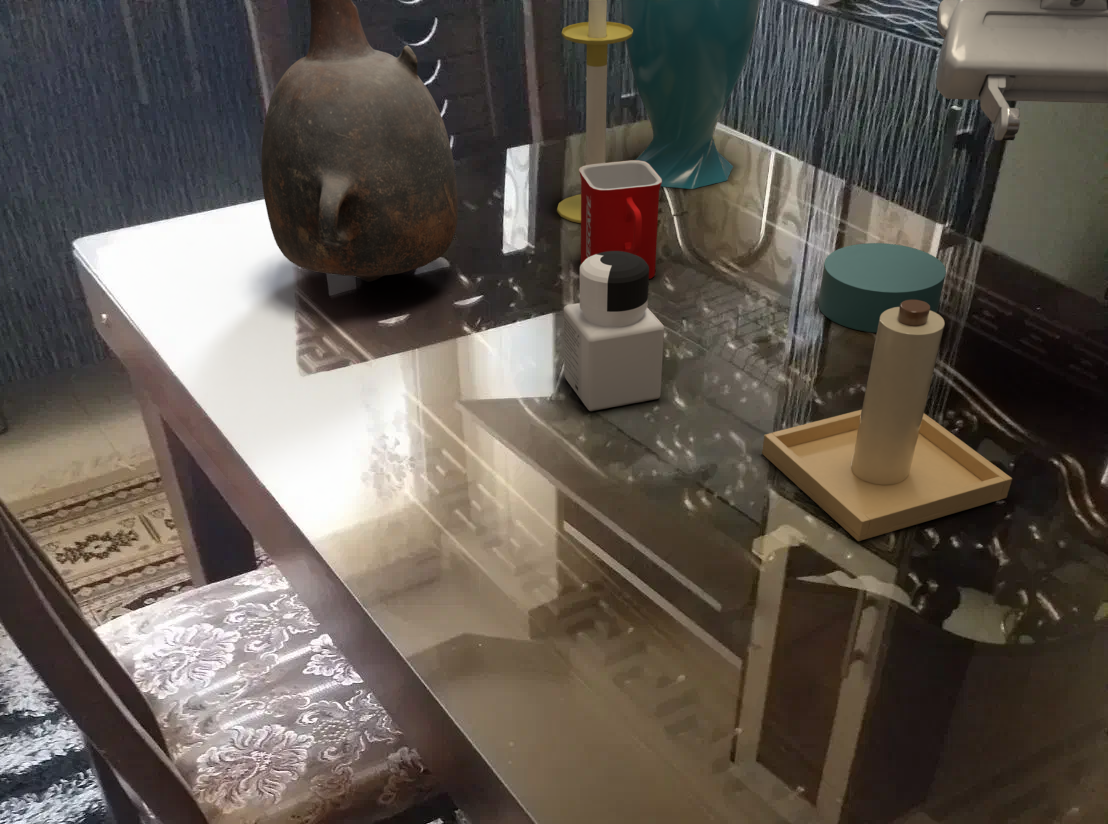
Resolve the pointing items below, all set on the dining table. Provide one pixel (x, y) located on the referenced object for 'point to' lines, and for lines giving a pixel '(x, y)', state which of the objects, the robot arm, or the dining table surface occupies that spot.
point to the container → (613, 334)
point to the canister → (896, 392)
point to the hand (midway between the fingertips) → (1067, 136)
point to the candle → (594, 87)
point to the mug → (620, 209)
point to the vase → (687, 79)
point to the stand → (877, 282)
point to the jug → (356, 157)
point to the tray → (871, 509)
